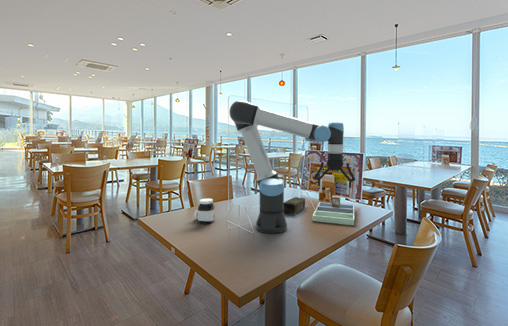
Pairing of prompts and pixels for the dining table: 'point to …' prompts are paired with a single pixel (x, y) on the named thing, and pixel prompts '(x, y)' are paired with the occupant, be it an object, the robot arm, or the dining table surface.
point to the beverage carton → (294, 205)
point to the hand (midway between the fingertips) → (334, 193)
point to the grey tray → (336, 207)
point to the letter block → (336, 201)
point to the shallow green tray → (335, 210)
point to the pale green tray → (333, 217)
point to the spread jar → (205, 211)
